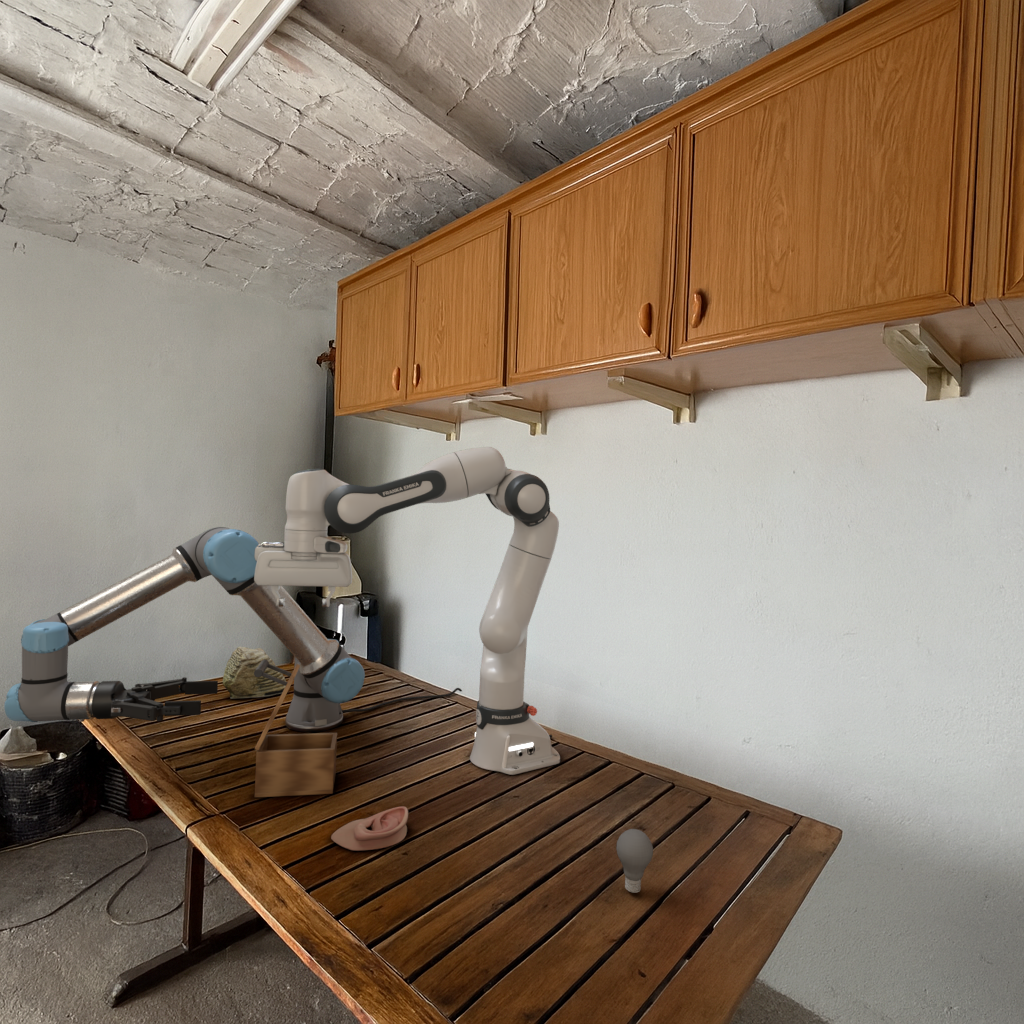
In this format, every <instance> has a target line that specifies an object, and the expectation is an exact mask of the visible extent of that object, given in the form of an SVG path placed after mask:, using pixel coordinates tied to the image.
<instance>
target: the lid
mask: <svg viewBox="0 0 1024 1024" xmlns="http://www.w3.org/2000/svg"><path fill="white" fill-rule="evenodd" d="M267 667H268V668H270V669H273V670H275V671H277V672H280V673H282V675H284V676H287V677H289V678H288V680H286V681H284V680H281V679H279V678H276V677H274V676H271V675H269V674H266V673H264V671H265V670H266V668H267ZM299 667H300V665H298V664H296V666H295V665H294V669H292V672H290V671H288V670H286V669H283V668H280V667H278V666H277V665H276V666H273V665H271V664H269V662H268V660H262V661H261V663H260V664H259V666H258V667H257V669H256V670H255V671H254V675H255V676H256V677H261V676H263V677H265V678H268V679H270V680H272V681H275V682H277V683H280V684H282V685H285V688H284V690H283V692H282V693H280V696H279V697H278V700H277V702H276V704H275V706H274V709H273V710H272V712H271V714H270V716H269V718H268V720H267V722H266V724H265V727H264V728H263V730H262V733H261V734H260V737H259V739H258V741H257V743H256V745H255V747H254V750H256V751H257V750H259V748H260V746H261V744H262V742H263V740H264V738H265V736H266V735H268V732H269V730H270V728H271V726H272V724H273V722H274V720H275V718H276V716H277V714H278V712H279V710H280V708H281V707H282V704H283V702H284V700H285V698H286V696H287V694H288V692H289V690H290V688H291V687H292V684H293V683H294V678H295V676H296V674H297V672H298V669H299Z"/></svg>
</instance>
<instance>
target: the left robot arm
mask: <svg viewBox="0 0 1024 1024" xmlns="http://www.w3.org/2000/svg"><path fill="white" fill-rule="evenodd" d="M259 544H260V543H259V542H258V540H257V539H256V538H255V537H254V536H252V534H250V533H249V532H246V531H244V530H241V529H236V528H229V527H225V526H216V527H212V528H208V529H207V530H204V531H202V532H200V533H199V534H198V535H196V536H194V537H192V538H190V539H189V540H187V541H185V542H183V543H182V544H180V545H178V546H176V547H174V548H173V549H172V551H171V553H170V555H168V556H166V557H163V558H161V559H160V560H158V561H156V562H154V563H152V564H150V565H148V566H146V567H145V568H142V569H140V570H138V571H136V572H134V573H132V574H130V575H129V576H127V577H124V578H122V579H121V580H119V581H118V582H115V583H113V584H111V585H108V586H107V587H105V588H103V589H102V590H100V591H98V592H96V593H94V594H92V595H90V596H87V597H86V598H83V599H82V600H80V601H78V602H76V603H75V604H73V605H70V606H69V607H67V608H64V609H62V610H61V611H59V612H57V613H55V614H53V615H51V616H49V617H47V618H43V619H38V620H35V621H33V622H31V623H30V624H29V625H26V626H24V628H23V630H22V635H21V638H20V644H21V681H20V682H19V683H16V684H13V685H12V686H11V687H10V688H9V690H8V691H7V693H6V696H5V698H6V699H5V701H4V707H3V708H4V713H5V716H6V718H8V720H10V721H14V722H31V723H38V722H53V721H76V720H78V722H79V723H83V722H85V720H93V719H96V720H114V719H116V718H118V717H123V718H130V719H135V720H144V721H149V722H155V721H156V722H162V721H164V717H177V716H178V717H181V716H182V717H183V716H200V715H201V714H202V700H200V699H199V700H170V701H169V700H168V701H167V700H166V701H165V702H164V703H163V702H159V701H156V700H157V699H162V698H167V697H172V696H176V695H182V694H184V695H187V696H188V695H217V694H218V691H219V689H218V687H219V686H218V685H219V681H218V680H190V681H188V678H187V677H182V678H177V679H169V680H163V681H155V682H148V683H147V682H145V683H136V684H135V685H134V686H133V687H131V688H129V689H126V688H125V685H124V683H123V682H122V681H120V680H103V681H101V682H100V681H98V680H88V681H87V680H86V681H68V675H69V674H68V673H69V672H68V660H69V647H70V646H72V645H73V644H75V643H77V642H79V641H80V640H82V639H85V638H87V637H88V636H90V635H92V634H93V633H95V632H97V631H99V630H101V629H103V628H105V627H106V626H108V625H110V624H111V623H114V622H116V621H118V620H119V619H121V618H123V617H125V616H127V615H129V614H131V613H133V612H135V611H136V610H138V609H139V608H142V607H143V606H145V605H147V604H149V603H151V602H153V601H155V600H156V599H158V598H160V597H162V596H164V595H165V594H167V593H169V592H171V591H173V590H175V589H177V588H179V587H180V586H182V585H184V584H186V583H188V582H191V583H196V582H198V581H200V580H202V579H204V578H207V577H209V576H212V577H213V578H214V580H216V581H217V582H218V584H220V586H221V587H222V588H223V589H224V590H225V592H227V594H228V595H230V596H239V597H241V599H242V600H243V601H244V603H246V604H247V606H248V607H250V608H251V610H252V611H253V612H254V613H255V614H256V616H258V618H260V620H261V621H262V622H263V623H264V624H265V625H266V627H267V628H268V629H269V631H271V632H272V633H273V634H274V635H275V636H276V638H277V639H278V640H279V641H280V642H281V643H282V644H283V645H284V647H286V648H287V650H288V651H289V652H290V653H291V654H292V656H294V667H295V666H296V664H298V665H300V667H299V669H298V672H297V674H296V676H295V678H294V680H293V695H292V696H293V697H292V699H291V702H290V704H289V708H288V711H287V713H286V715H285V726H286V728H287V729H289V730H291V731H294V732H295V731H296V732H301V733H319V732H325V731H329V730H332V729H335V728H337V727H339V726H340V725H342V723H343V722H344V714H343V713H356V712H357V713H358V712H359V713H360V712H368V711H371V710H372V711H373V710H374V709H377V708H380V707H382V706H386V705H390V704H393V703H397V702H403V701H409V700H422V699H434V698H437V699H438V698H445V697H450V696H452V695H454V694H455V693H456V692H458V691H459V692H460V693H461V692H463V690H462V689H461V688H460V687H456V688H454V690H452V691H451V692H449V693H445V694H444V693H443V694H435V695H421V696H420V695H419V696H408V697H401V698H396V699H392V700H389V701H385V702H381V703H378V704H377V705H373V706H369V707H366V708H352V709H350V708H349V709H342V706H341V704H344V703H347V702H350V701H351V700H352V699H354V698H356V696H357V695H358V694H359V693H360V691H361V690H362V688H363V686H364V681H365V678H366V674H365V669H364V667H363V665H362V664H361V663H360V662H359V660H357V659H356V658H354V657H352V656H351V655H350V654H349V653H348V652H347V650H346V649H345V648H344V647H343V646H342V645H341V644H340V642H339V640H338V639H334V638H327V637H326V635H325V634H324V633H323V632H322V631H321V630H320V628H319V627H317V625H316V624H315V623H314V622H313V620H312V619H311V618H310V617H309V615H307V614H306V612H305V611H304V610H303V609H302V608H301V607H300V605H299V604H298V603H297V601H296V600H295V599H294V598H293V597H292V596H291V595H290V593H289V592H288V591H287V590H286V589H285V588H284V586H280V589H279V590H278V593H279V594H280V596H281V597H284V598H285V601H284V602H285V605H284V607H277V606H276V602H277V599H276V598H275V596H274V594H273V593H272V591H271V590H272V586H265V585H257V584H256V583H255V581H254V575H255V568H256V563H257V561H256V560H255V557H254V554H255V548H256V547H257V546H258V545H259ZM259 547H261V546H259Z"/></svg>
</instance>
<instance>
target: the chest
mask: <svg viewBox="0 0 1024 1024" xmlns="http://www.w3.org/2000/svg"><path fill="white" fill-rule="evenodd" d="M337 749H338V732H309V733H283V734H266V736H265V738H264V740H263V742H262V744H261V746H260V748H259V750H256V752H255V774H254V775H255V777H254V781H255V782H254V798H271V797H272V798H273V797H293V796H312V795H330V794H331V795H332V794H333V793H334V787H335V782H336V781H335V780H336V774H337V773H336V772H337Z"/></svg>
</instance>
